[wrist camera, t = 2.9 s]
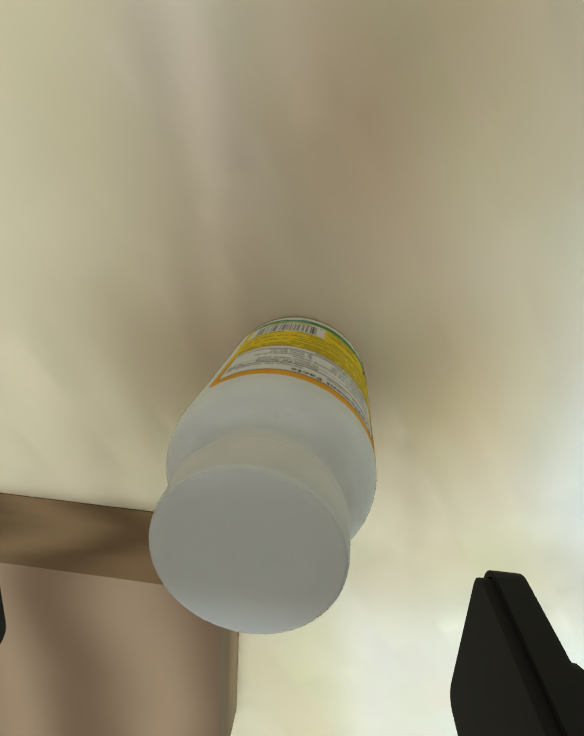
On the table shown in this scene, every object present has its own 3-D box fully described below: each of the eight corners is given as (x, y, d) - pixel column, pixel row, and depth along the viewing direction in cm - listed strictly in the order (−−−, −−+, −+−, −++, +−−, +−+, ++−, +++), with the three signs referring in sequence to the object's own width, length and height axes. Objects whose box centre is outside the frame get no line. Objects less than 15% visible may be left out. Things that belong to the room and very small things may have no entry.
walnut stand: (242, 523, 21) (219, 592, 17) (236, 709, 24) (216, 799, 21) (-8, 492, 22) (-82, 551, 18) (25, 676, 25) (-31, 756, 22)
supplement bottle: (298, 284, 17) (244, 369, 8) (395, 387, 18) (451, 574, 9) (201, 378, 19) (61, 540, 9) (294, 468, 19) (250, 697, 10)
